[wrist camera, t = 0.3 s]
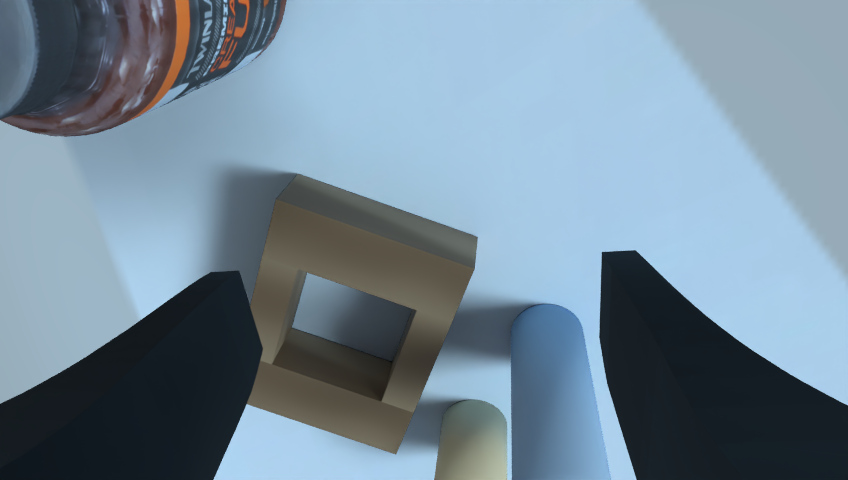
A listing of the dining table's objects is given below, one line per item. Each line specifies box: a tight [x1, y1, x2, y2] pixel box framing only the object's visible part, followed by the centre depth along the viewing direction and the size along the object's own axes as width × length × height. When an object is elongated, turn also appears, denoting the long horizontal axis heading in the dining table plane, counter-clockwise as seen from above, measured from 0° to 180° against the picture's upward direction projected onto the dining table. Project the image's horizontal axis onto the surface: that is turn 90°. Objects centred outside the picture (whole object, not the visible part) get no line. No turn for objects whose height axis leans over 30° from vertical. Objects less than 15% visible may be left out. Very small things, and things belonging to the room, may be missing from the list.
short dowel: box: [434, 400, 507, 480], centre depth 26 cm, size 3×3×4 cm
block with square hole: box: [247, 174, 478, 454], centre depth 24 cm, size 9×7×2 cm
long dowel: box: [511, 304, 611, 480], centre depth 21 cm, size 3×3×8 cm
